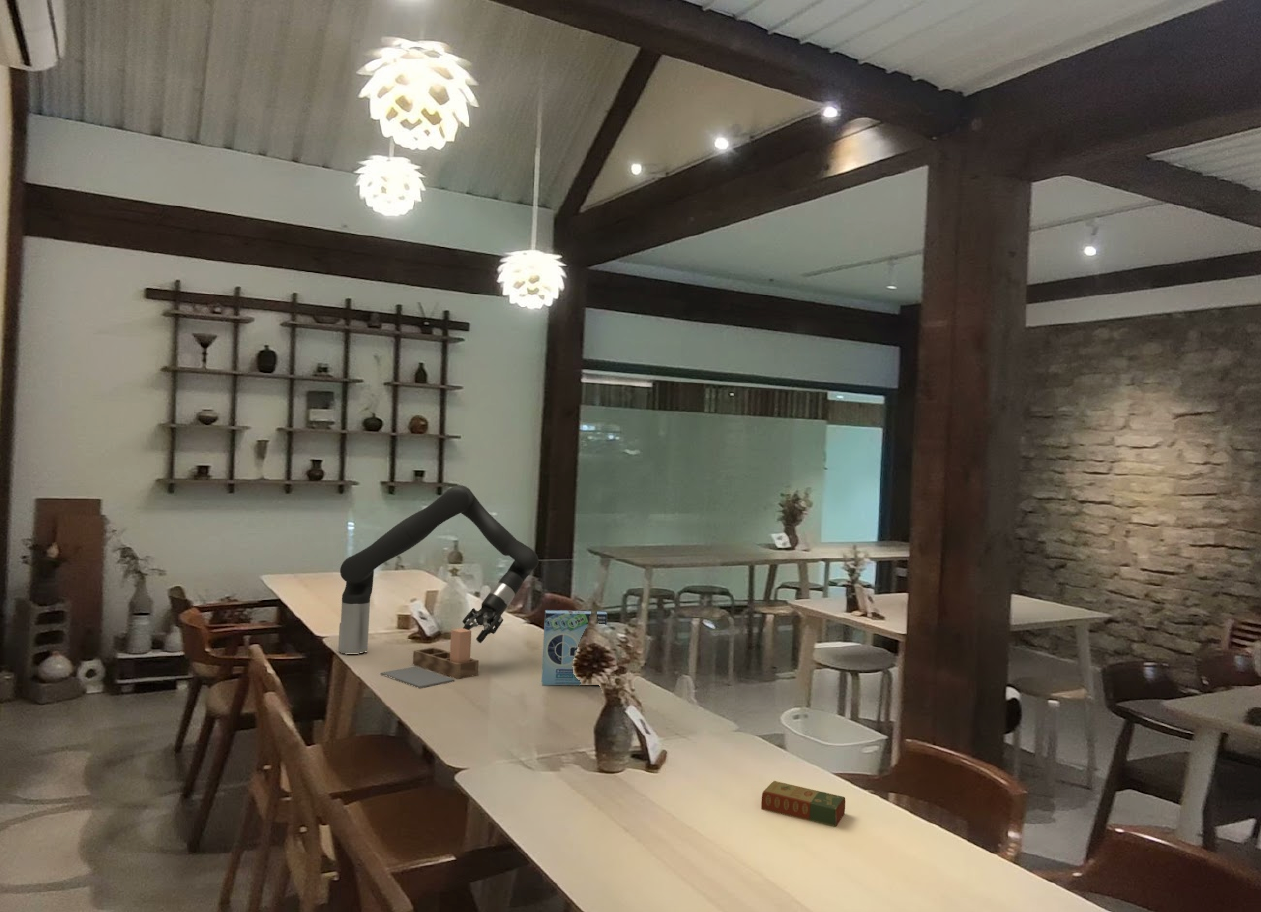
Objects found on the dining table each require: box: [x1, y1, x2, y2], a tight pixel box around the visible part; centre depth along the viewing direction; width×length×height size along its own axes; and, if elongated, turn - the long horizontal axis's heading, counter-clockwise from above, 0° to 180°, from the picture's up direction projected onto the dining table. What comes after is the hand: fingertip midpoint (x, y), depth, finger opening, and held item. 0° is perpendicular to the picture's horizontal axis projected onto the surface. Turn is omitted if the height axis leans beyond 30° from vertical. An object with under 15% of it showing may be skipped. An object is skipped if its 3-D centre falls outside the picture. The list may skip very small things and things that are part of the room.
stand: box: [412, 647, 480, 680], centre depth 292 cm, size 23×8×4 cm, turn 50°
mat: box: [380, 665, 456, 689], centre depth 281 cm, size 20×13×1 cm, turn 50°
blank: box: [449, 627, 472, 663], centre depth 288 cm, size 4×4×14 cm
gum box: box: [541, 609, 608, 687], centre depth 283 cm, size 20×5×23 cm, turn 98°
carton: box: [760, 780, 846, 828], centre depth 192 cm, size 8×16×4 cm, turn 63°
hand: (469, 638), depth 290 cm, fingers open, 8 cm apart
